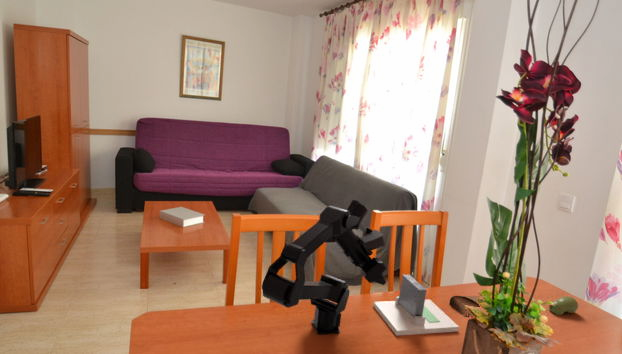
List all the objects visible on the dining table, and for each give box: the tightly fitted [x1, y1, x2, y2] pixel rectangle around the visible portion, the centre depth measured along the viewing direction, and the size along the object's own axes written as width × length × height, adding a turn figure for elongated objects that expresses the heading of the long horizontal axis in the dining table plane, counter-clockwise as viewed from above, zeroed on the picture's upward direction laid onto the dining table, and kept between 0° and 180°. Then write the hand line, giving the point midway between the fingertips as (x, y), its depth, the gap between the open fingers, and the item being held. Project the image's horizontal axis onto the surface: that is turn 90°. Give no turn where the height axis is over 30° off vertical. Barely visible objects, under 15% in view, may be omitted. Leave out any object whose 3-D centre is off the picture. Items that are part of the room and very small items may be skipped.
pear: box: [548, 295, 579, 316], centre depth 139 cm, size 6×5×10 cm
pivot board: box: [372, 295, 460, 337], centre depth 125 cm, size 20×16×4 cm
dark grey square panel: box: [398, 274, 427, 318], centre depth 123 cm, size 2×10×10 cm, turn 15°
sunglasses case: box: [449, 295, 480, 318], centre depth 135 cm, size 18×7×7 cm, turn 103°
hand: (379, 278), depth 119 cm, fingers open, 7 cm apart
